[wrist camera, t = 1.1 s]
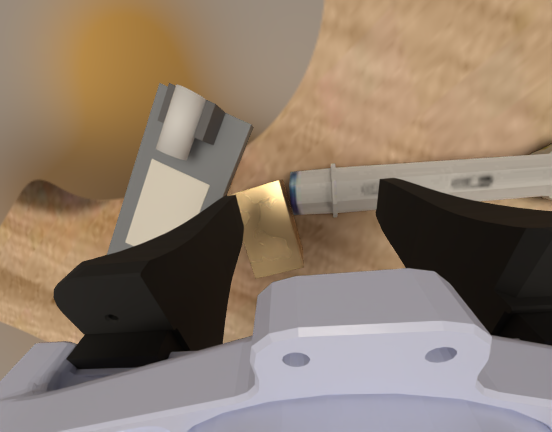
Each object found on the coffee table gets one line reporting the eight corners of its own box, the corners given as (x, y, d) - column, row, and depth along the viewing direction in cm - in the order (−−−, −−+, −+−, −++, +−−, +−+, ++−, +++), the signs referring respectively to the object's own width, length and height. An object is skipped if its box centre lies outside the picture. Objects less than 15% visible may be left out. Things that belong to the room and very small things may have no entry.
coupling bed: (176, 318, 25) (149, 350, 21) (104, 284, 25) (61, 308, 21) (253, 127, 21) (240, 112, 16) (166, 87, 21) (129, 62, 17)
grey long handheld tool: (286, 161, 18) (767, 110, 12) (298, 165, 24) (612, 133, 18) (291, 227, 18) (742, 211, 12) (301, 213, 25) (602, 199, 19)
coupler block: (302, 247, 23) (303, 267, 18) (264, 257, 23) (255, 278, 18) (283, 179, 22) (278, 180, 17) (243, 191, 22) (228, 195, 17)
